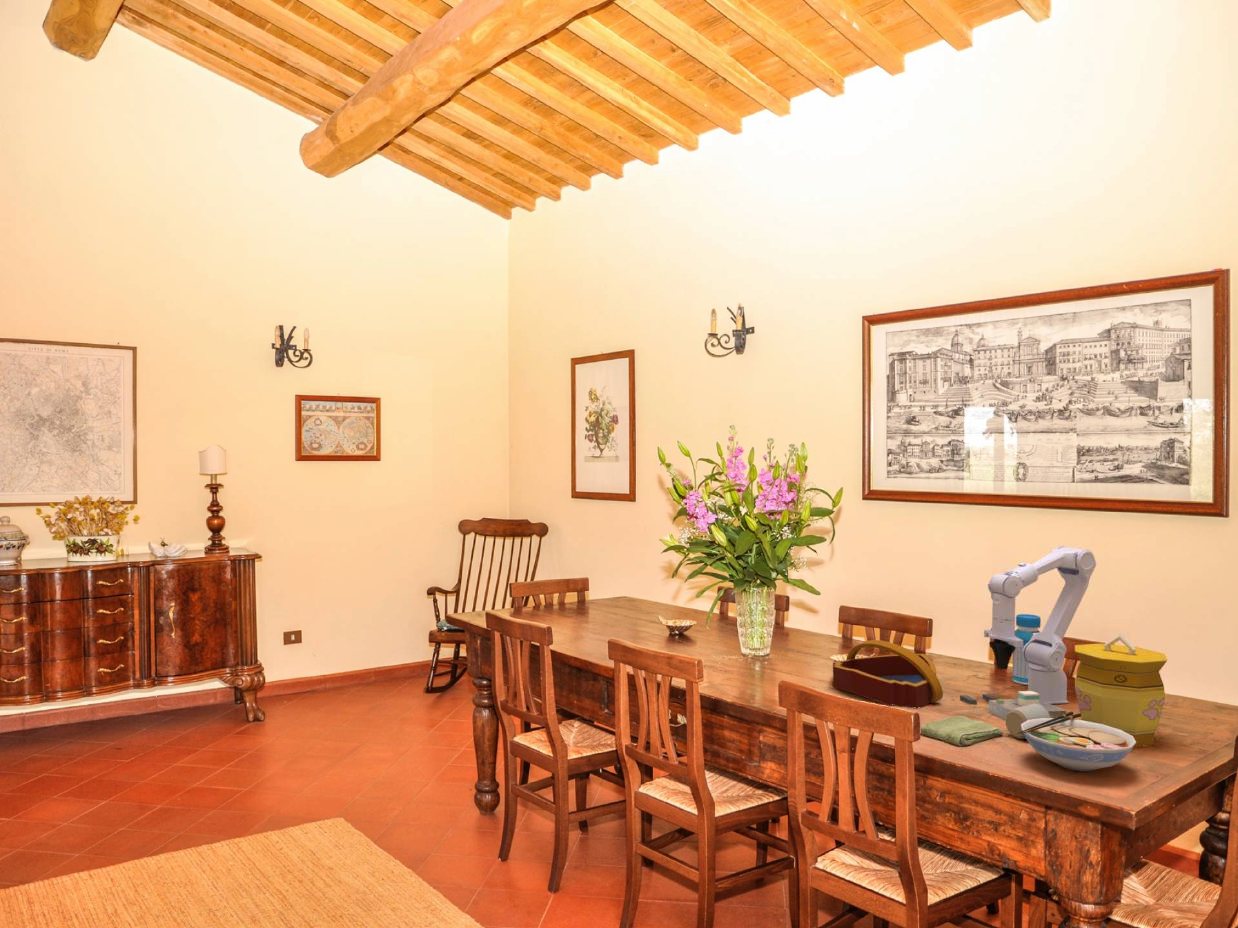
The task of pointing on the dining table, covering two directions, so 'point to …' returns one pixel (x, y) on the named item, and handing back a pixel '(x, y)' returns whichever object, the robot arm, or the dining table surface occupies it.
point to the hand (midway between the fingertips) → (1002, 668)
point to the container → (1121, 687)
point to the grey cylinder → (1024, 718)
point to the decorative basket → (889, 676)
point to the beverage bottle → (1024, 632)
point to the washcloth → (960, 730)
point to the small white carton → (1027, 698)
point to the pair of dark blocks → (974, 701)
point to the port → (1006, 705)
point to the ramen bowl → (1077, 742)
